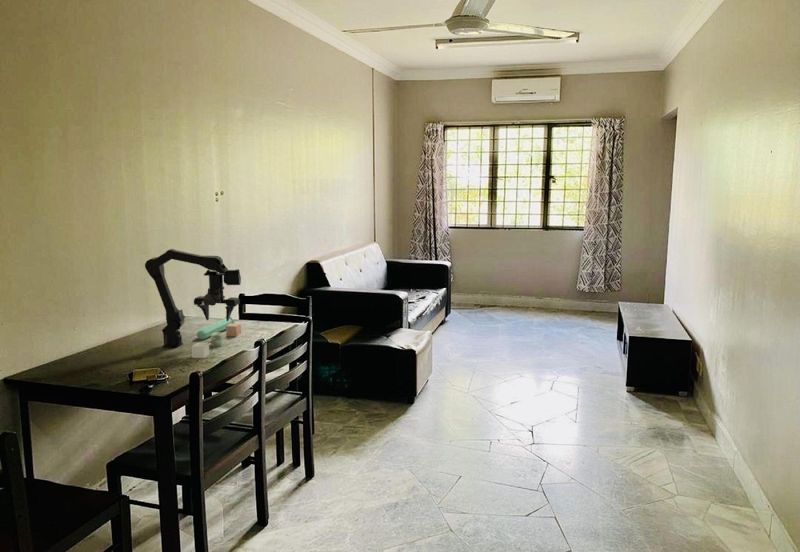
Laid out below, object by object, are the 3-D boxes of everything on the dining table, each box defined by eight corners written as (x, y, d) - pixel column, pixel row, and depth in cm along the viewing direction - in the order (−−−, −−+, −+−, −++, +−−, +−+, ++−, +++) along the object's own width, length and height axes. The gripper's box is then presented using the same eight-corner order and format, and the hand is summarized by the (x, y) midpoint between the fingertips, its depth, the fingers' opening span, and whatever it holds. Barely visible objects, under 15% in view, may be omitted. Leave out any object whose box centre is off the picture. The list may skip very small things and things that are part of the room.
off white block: (192, 357, 242) (191, 345, 241) (198, 354, 247) (197, 342, 246) (203, 358, 241) (203, 346, 241) (209, 354, 246) (208, 343, 245)
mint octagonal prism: (202, 327, 266) (231, 314, 290) (192, 331, 268) (222, 318, 292) (207, 339, 267) (236, 325, 290) (197, 343, 269) (226, 329, 292)
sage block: (210, 346, 259) (210, 335, 258) (216, 343, 264) (215, 332, 263) (221, 346, 258) (221, 335, 257) (226, 343, 263) (226, 332, 262)
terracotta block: (226, 336, 274) (226, 326, 274) (230, 333, 279) (230, 323, 278) (236, 336, 274) (236, 326, 273) (241, 334, 279) (240, 323, 278)
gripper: (186, 288, 250) (188, 324, 252) (228, 289, 247) (230, 325, 250) (199, 283, 261) (200, 317, 263) (239, 284, 258) (240, 319, 261)
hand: (217, 320), depth 259 cm, fingers open, 9 cm apart
